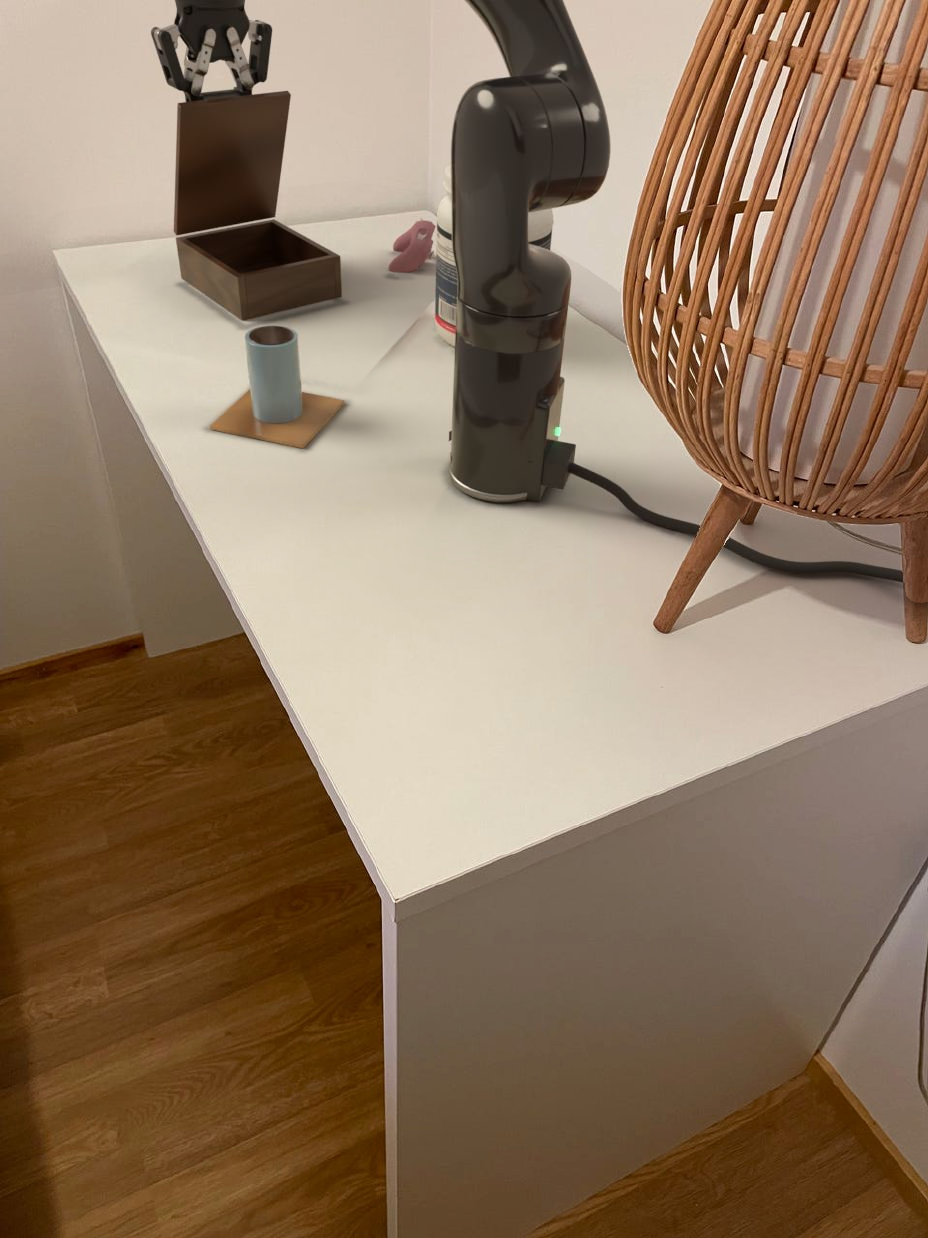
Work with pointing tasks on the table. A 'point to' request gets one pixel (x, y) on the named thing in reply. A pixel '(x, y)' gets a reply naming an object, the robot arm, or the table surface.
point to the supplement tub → (445, 263)
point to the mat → (289, 433)
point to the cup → (274, 373)
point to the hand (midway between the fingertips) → (222, 125)
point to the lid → (228, 159)
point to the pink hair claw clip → (413, 247)
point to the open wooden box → (259, 268)
